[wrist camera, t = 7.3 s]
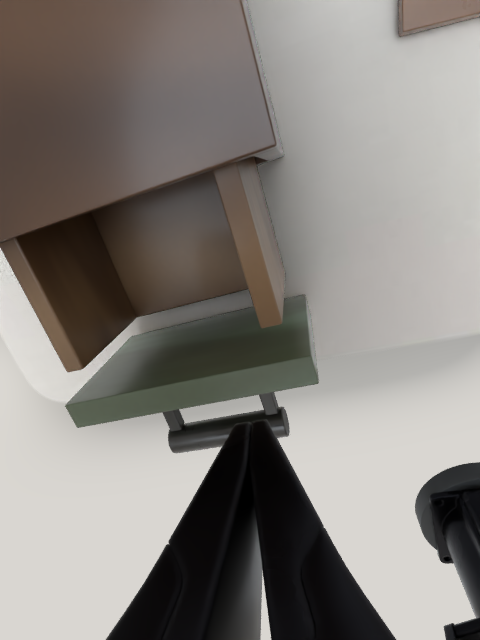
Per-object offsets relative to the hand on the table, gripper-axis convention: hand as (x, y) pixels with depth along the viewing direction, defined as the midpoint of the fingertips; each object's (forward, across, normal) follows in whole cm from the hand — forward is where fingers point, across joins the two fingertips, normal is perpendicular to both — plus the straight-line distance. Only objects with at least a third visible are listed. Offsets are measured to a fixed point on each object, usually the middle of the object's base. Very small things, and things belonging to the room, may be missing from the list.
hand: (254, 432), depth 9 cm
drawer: (+11, +3, -1) cm, 12 cm away
